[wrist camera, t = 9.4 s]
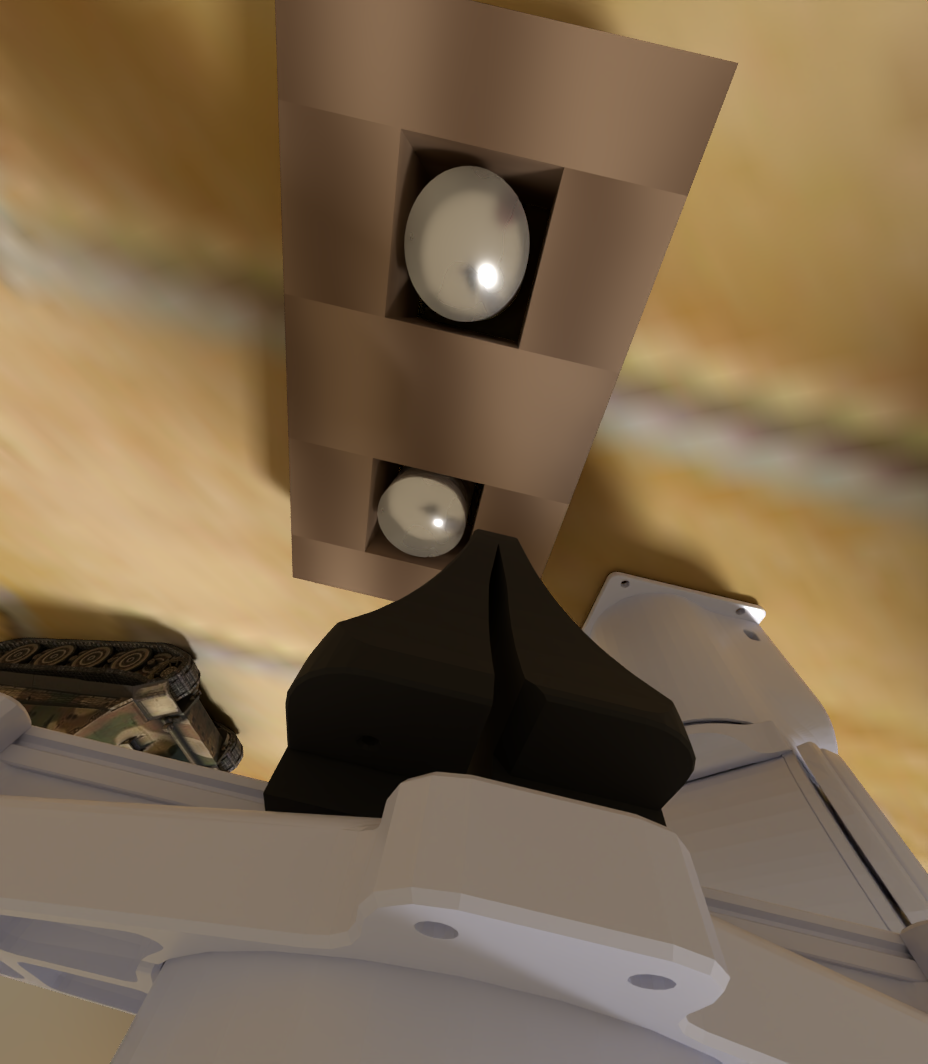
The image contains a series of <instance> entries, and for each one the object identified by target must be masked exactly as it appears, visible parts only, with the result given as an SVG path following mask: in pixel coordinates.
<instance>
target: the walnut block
mask: <svg viewBox="0 0 928 1064" xmlns="http://www.w3.org/2000/svg"><path fill="white" fill-rule="evenodd" d="M275 12H276V45H277V77H278V110H279V142H280V175H281V208H282V240H283V273H284V305H285V338H286V371H287V403H288V436H289V468H290V501H291V534H292V566H293V577H294V578H299V579H303V580H307V581H311V582H315V583H319V584H324V585H328V586H332V587H336V588H340V589H345V590H349V591H353V592H357V593H361V594H366V595H370V596H374V597H378V598H382V599H386V600H391V601H397V600H399V599H401V598H403V597H405V596H406V595H408V594H410V593H411V592H413V591H415V590H416V589H418V588H419V587H421V586H422V585H424V584H425V583H427V582H428V581H429V580H431V579H432V578H433V577H435V576H436V575H437V574H438V573H439V572H441V571H442V570H443V569H444V568H445V567H446V566H447V565H448V564H449V563H450V562H451V561H452V560H453V559H454V558H455V557H456V556H457V555H458V554H459V553H460V552H461V550H462V549H463V548H464V547H465V546H466V544H467V543H468V541H469V540H470V538H471V537H472V535H473V532H474V531H475V530H477V529H481V530H486V531H490V532H494V533H498V534H502V535H507V536H511V537H515V538H517V539H518V540H519V542H520V544H521V546H522V548H523V550H524V552H525V554H526V555H527V557H528V559H529V561H530V563H531V565H532V566H533V568H534V570H535V571H536V573H537V575H538V576H539V578H540V579H541V577H542V574H543V571H544V569H545V566H546V564H547V561H548V558H549V556H550V553H551V550H552V548H553V545H554V543H555V540H556V537H557V535H558V532H559V530H560V527H561V524H562V522H563V519H564V517H565V514H566V511H567V509H568V506H569V504H570V501H571V498H572V496H573V493H574V490H575V488H576V485H577V483H578V480H579V477H580V475H581V472H582V470H583V467H584V464H585V462H586V459H587V457H588V454H589V451H590V449H591V446H592V444H593V441H594V438H595V436H596V433H597V430H598V428H599V425H600V423H601V420H602V417H603V415H604V412H605V410H606V407H607V404H608V402H609V399H610V397H611V394H612V391H613V389H614V386H615V384H616V381H617V378H618V376H619V373H620V370H621V368H622V365H623V363H624V360H625V357H626V355H627V352H628V350H629V347H630V344H631V342H632V339H633V337H634V334H635V331H636V329H637V326H638V324H639V321H640V318H641V316H642V313H643V311H644V308H645V305H646V303H647V300H648V297H649V295H650V292H651V290H652V287H653V284H654V282H655V279H656V277H657V274H658V271H659V269H660V266H661V264H662V261H663V258H664V256H665V253H666V251H667V248H668V245H669V243H670V240H671V237H672V235H673V232H674V230H675V227H676V224H677V222H678V219H679V217H680V214H681V211H682V209H683V206H684V204H685V201H686V198H687V196H688V193H689V191H690V188H691V185H692V183H693V180H694V177H695V175H696V172H697V170H698V167H699V164H700V162H701V159H702V157H703V154H704V151H705V149H706V146H707V144H708V141H709V138H710V136H711V133H712V131H713V128H714V125H715V123H716V120H717V117H718V115H719V112H720V110H721V107H722V104H723V102H724V99H725V97H726V94H727V91H728V89H729V86H730V84H731V81H732V78H733V76H734V73H735V71H736V68H737V65H738V63H735V62H731V61H727V60H722V59H718V58H714V57H710V56H705V55H701V54H697V53H693V52H688V51H684V50H680V49H676V48H671V47H667V46H663V45H659V44H654V43H650V42H646V41H642V40H637V39H633V38H629V37H625V36H620V35H616V34H612V33H607V32H603V31H599V30H595V29H590V28H586V27H582V26H578V25H573V24H569V23H565V22H561V21H556V20H552V19H548V18H544V17H539V16H535V15H531V14H527V13H522V12H518V11H514V10H510V9H505V8H501V7H497V6H493V5H488V4H484V3H480V2H475V1H471V0H275ZM460 166H475V167H481V168H484V169H487V170H489V171H491V172H493V173H495V174H497V175H498V176H499V177H501V178H502V179H503V180H504V181H505V182H506V183H507V184H508V185H509V186H510V187H511V188H512V190H513V191H514V192H515V194H516V195H517V197H518V199H519V201H520V202H521V203H523V204H527V205H532V206H536V207H540V208H544V209H549V210H550V214H549V218H548V223H547V227H546V231H545V235H544V239H543V243H542V247H541V251H540V255H539V259H538V263H537V267H536V271H535V275H534V279H533V283H532V287H531V291H530V295H529V299H528V303H527V307H526V311H525V315H524V319H523V324H522V328H521V332H520V336H519V340H518V341H514V340H510V339H505V338H501V337H497V336H493V335H489V334H484V333H480V332H476V331H472V330H467V329H463V328H459V327H455V326H451V325H446V324H442V323H438V322H434V321H429V320H425V319H421V318H417V312H418V304H419V294H418V293H417V291H416V289H415V287H414V286H413V284H412V281H411V279H410V276H409V273H408V269H407V266H406V260H405V250H404V240H405V231H406V225H407V221H408V217H409V214H410V212H411V209H412V206H413V204H414V203H415V201H416V199H417V197H418V196H419V194H420V193H421V191H422V190H423V189H424V188H425V186H426V185H427V184H428V183H429V182H430V181H431V180H433V179H434V178H435V177H436V176H438V175H439V174H441V173H443V172H444V171H447V170H449V169H452V168H456V167H460ZM399 464H401V465H405V466H409V467H413V468H418V469H422V470H426V471H430V472H435V473H439V474H443V475H447V476H451V477H456V478H460V479H464V480H468V481H472V482H477V483H481V484H483V485H482V489H481V493H480V497H479V501H478V505H477V509H476V513H475V517H474V522H473V526H470V525H465V529H464V532H463V535H462V537H461V539H460V541H459V542H458V544H457V545H456V546H455V547H454V548H452V549H451V550H450V551H448V552H446V553H444V554H442V555H439V556H435V557H418V556H413V555H410V554H407V553H405V552H403V551H401V550H399V549H398V548H397V547H395V546H394V545H393V544H392V543H391V542H390V541H389V540H388V539H387V538H386V537H385V535H384V534H383V532H382V530H381V528H380V525H379V522H378V515H377V512H378V504H379V501H380V499H381V497H382V495H383V494H384V492H385V491H386V490H387V488H388V487H389V486H390V484H391V483H392V482H393V480H394V479H395V478H396V476H397V475H398V467H399Z"/></svg>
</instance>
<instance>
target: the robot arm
mask: <svg viewBox="0 0 928 1064" xmlns="http://www.w3.org/2000/svg"><path fill="white" fill-rule="evenodd" d="M622 581H628V582H627V583H625V584H622V583H621V582H622ZM739 608H741V609H740V610H737V609H739ZM736 610H737V611H736ZM765 615H766V612H765V610H764V609H763V608H762V607H761V606H759V605H755V604H751V603H747V602H742V601H738V600H734V599H730V598H726V597H721V596H717V595H713V594H709V593H705V592H700V591H696V590H692V589H688V588H684V587H680V586H675V585H671V584H667V583H663V582H659V581H654V580H650V579H646V578H642V577H638V576H633V575H629V574H625V573H621V572H613V573H611V574H609V576H608V577H607V579H606V581H605V583H604V585H603V587H602V589H601V591H600V593H599V595H598V597H597V599H596V601H595V603H594V605H593V607H592V609H591V611H590V613H589V615H588V617H587V619H586V621H585V623H584V625H583V627H582V630H581V629H580V628H579V627H578V626H577V625H576V624H575V622H574V621H573V620H572V619H571V618H570V617H569V616H568V615H567V613H566V612H565V611H564V610H563V609H562V608H561V607H560V605H559V604H558V603H557V602H556V600H555V599H554V598H553V596H552V595H551V594H550V592H549V591H548V590H547V588H546V587H545V585H544V584H543V582H542V581H541V579H540V578H539V576H538V575H537V573H536V571H535V570H534V568H533V566H532V565H531V563H530V561H529V559H528V557H527V555H526V554H525V552H524V550H523V548H522V546H521V544H520V542H519V540H518V539H517V538H515V537H511V536H507V535H502V534H498V533H494V532H490V531H486V530H481V529H477V530H475V531H474V532H473V535H472V537H471V538H470V540H469V541H468V543H467V544H466V546H465V547H464V548H463V549H462V550H461V552H460V553H459V554H458V555H457V556H456V557H455V558H454V559H453V560H452V561H451V562H450V563H449V564H448V565H447V566H446V567H445V568H444V569H443V570H442V571H441V572H439V573H438V574H437V575H436V576H435V577H433V578H432V579H431V580H429V581H428V582H427V583H425V584H424V585H422V586H421V587H419V588H418V589H416V590H415V591H413V592H411V593H410V594H408V595H406V596H405V597H403V598H401V599H399V600H397V601H395V602H393V603H391V604H389V605H386V606H384V607H382V608H380V609H378V610H375V611H373V612H370V613H367V614H364V615H361V616H358V617H354V618H351V619H348V620H345V621H341V622H339V623H337V624H336V625H335V626H334V627H333V628H332V629H331V630H330V632H329V633H328V634H327V635H326V636H325V637H324V638H323V640H322V641H321V642H320V643H319V644H318V646H317V647H316V648H315V649H314V650H313V652H312V653H311V654H310V656H309V657H308V659H307V660H306V662H305V663H304V665H303V667H302V668H301V670H300V672H299V673H298V675H297V677H296V678H295V680H294V682H293V683H292V685H291V687H290V688H289V690H288V692H287V698H286V723H287V741H288V747H287V749H286V751H285V753H284V754H283V756H282V758H281V760H280V762H279V764H278V766H277V768H276V770H275V771H274V773H273V775H272V777H271V779H270V781H269V782H266V781H262V780H258V779H254V778H249V777H245V776H241V775H237V774H233V773H229V772H224V771H220V770H216V769H212V768H208V767H204V766H199V765H195V764H191V763H187V762H183V761H179V760H174V759H170V758H166V757H162V756H158V755H154V754H149V753H145V752H141V751H137V750H133V749H129V748H124V747H120V746H116V745H112V744H108V743H104V742H99V741H95V740H91V739H87V738H83V737H79V736H74V735H70V734H66V733H62V732H58V731H54V730H49V729H45V728H41V727H37V726H33V725H31V719H30V717H29V714H28V712H27V711H26V709H25V708H24V707H23V706H22V704H21V703H20V702H18V701H17V700H15V699H14V698H12V697H11V696H8V695H6V694H3V693H0V975H1V976H4V977H8V978H11V979H14V980H18V981H21V982H24V983H28V984H31V985H35V986H38V987H41V988H45V989H48V990H51V991H55V992H58V993H62V994H65V995H69V996H72V997H75V998H78V999H82V1000H86V1001H89V1002H92V1003H96V1004H99V1005H102V1006H106V1007H109V1008H112V1009H116V1010H119V1011H122V1012H126V1013H129V1014H133V1015H136V1016H135V1018H134V1020H133V1022H132V1024H131V1026H130V1027H129V1029H128V1031H127V1033H126V1035H125V1037H124V1039H123V1040H122V1042H121V1044H120V1046H119V1048H118V1049H117V1051H116V1054H115V1055H114V1057H113V1059H112V1060H111V1062H110V1064H928V874H927V873H926V871H925V870H924V868H923V867H922V866H921V864H920V863H919V862H918V860H917V859H916V858H915V856H914V855H913V853H912V852H911V851H910V849H909V848H908V847H907V845H906V844H905V843H904V841H903V840H902V838H901V837H900V836H899V834H898V833H897V832H896V830H895V829H894V828H893V826H892V825H891V824H890V822H889V821H888V819H887V818H886V817H885V815H884V814H883V813H882V811H881V810H880V809H879V807H878V806H877V805H876V803H875V802H874V801H873V799H872V798H871V797H870V795H869V794H868V793H867V791H866V790H865V788H864V787H863V786H862V784H861V783H860V782H859V780H858V779H857V778H856V776H855V775H854V774H853V772H852V771H851V770H850V768H849V767H848V766H847V765H846V763H845V762H844V761H843V759H842V758H841V757H840V756H839V755H838V748H837V742H836V737H835V733H834V729H833V726H832V723H831V721H830V718H829V716H828V714H827V713H826V711H825V709H824V707H823V706H822V704H821V703H820V701H819V700H818V699H817V697H816V696H815V695H814V694H813V692H812V691H811V690H810V689H809V687H808V686H807V685H806V684H805V682H804V681H803V680H802V679H801V677H800V676H799V675H798V673H797V672H796V671H795V670H794V668H793V667H792V666H791V665H790V663H789V662H788V661H787V660H786V658H785V657H784V656H783V655H782V653H781V652H780V651H779V650H778V648H777V647H776V646H775V644H774V643H773V642H772V641H771V639H770V638H769V637H768V636H767V634H766V633H765V632H764V631H763V629H762V628H761V627H760V626H759V623H760V622H761V621H762V620H763V618H764V617H765Z"/></svg>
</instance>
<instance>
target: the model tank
mask: <svg viewBox="0 0 928 1064" xmlns="http://www.w3.org/2000/svg"><path fill="white" fill-rule="evenodd" d="M199 682H200V672H199V670H198V668H197V666H196V665H195V663H194V661H193V660H192V658H191V656H190V654H188V653H186V652H184V651H183V650H181V649H179V648H177V647H176V646H174V645H171V644H166V643H152V642H126V641H99V640H73V639H46V638H22V639H14V640H8V641H3V642H0V693H3V694H6V695H8V696H11V697H12V698H14V699H15V700H17V701H18V702H20V703H21V704H22V706H23V707H24V708H25V709H26V711H27V712H28V714H29V717H30V719H31V725H33V726H37V727H41V728H45V729H49V730H54V731H58V732H62V733H66V734H70V735H74V736H79V737H83V738H87V739H91V740H95V741H99V742H104V743H108V744H112V745H116V746H120V747H124V748H129V749H133V750H137V751H141V752H145V753H149V754H154V755H158V756H162V757H166V758H170V759H174V760H179V761H183V762H187V763H191V764H195V765H199V766H204V767H208V768H212V769H216V770H220V771H224V772H229V773H230V772H231V771H232V770H234V769H235V768H236V767H237V766H238V764H239V763H240V761H241V759H242V758H243V746H242V744H241V743H240V741H239V739H238V738H237V736H236V734H235V733H234V732H233V731H231V730H230V729H228V728H227V727H225V726H224V725H222V724H221V723H219V722H217V721H212V720H211V718H210V717H209V715H208V713H207V712H206V710H205V708H204V707H203V705H202V703H201V702H200V700H199V698H200V697H199V696H200V695H201V694H202V693H201V692H200V690H199V691H198V687H199ZM197 691H198V692H197ZM196 692H197V693H196ZM195 693H196V694H195ZM198 693H200V694H199V695H197V694H198Z"/></svg>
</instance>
